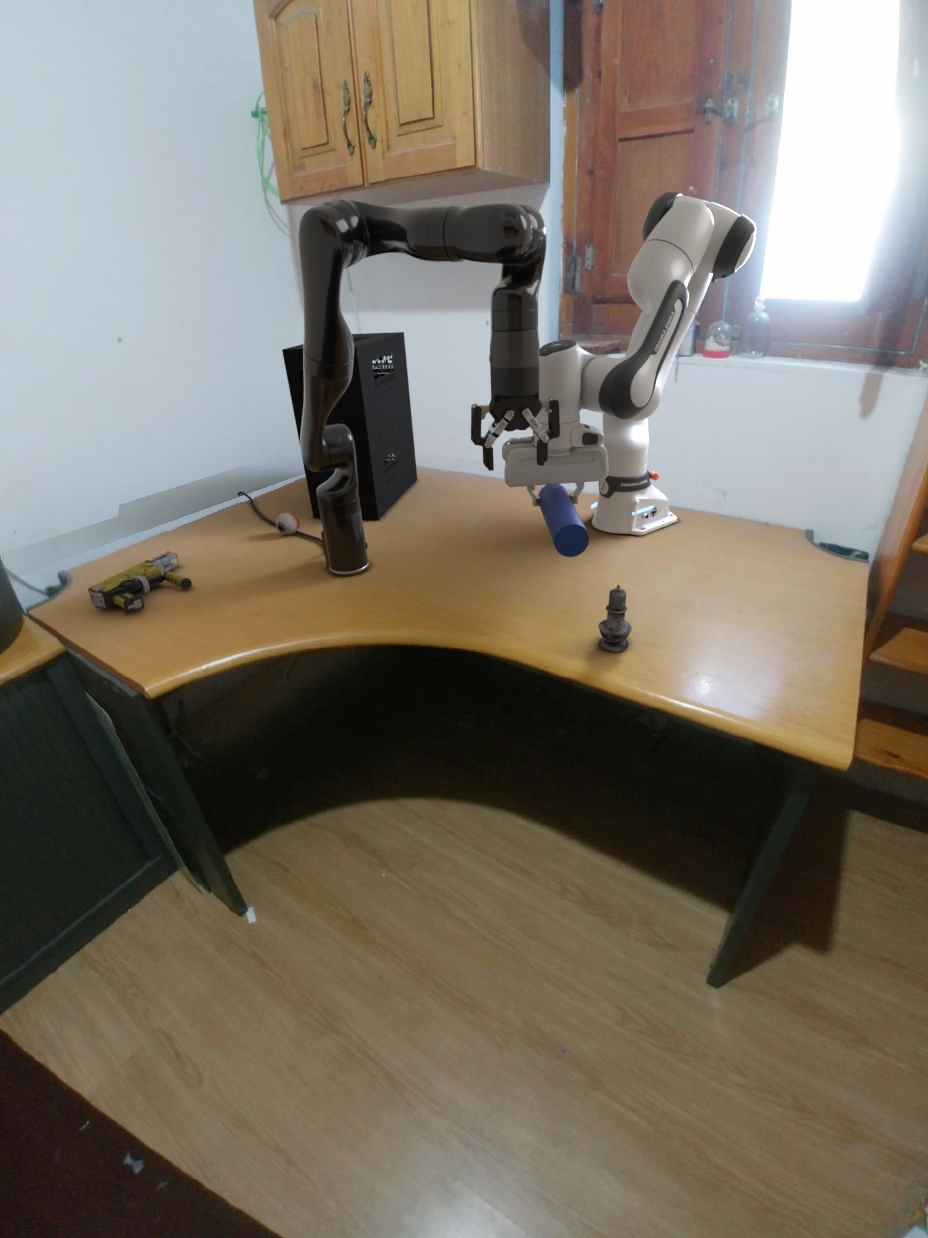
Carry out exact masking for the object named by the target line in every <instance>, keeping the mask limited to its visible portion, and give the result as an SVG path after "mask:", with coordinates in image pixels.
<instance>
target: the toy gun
mask: <svg viewBox="0 0 928 1238" xmlns="http://www.w3.org/2000/svg"><path fill="white" fill-rule="evenodd" d="M175 559H176V561H177V563H176V562H173V560H175ZM178 567H180V561H179V554H177V553H176V552H174V551H173V552H171V550H170V551H169V550H167V551H165V552H164V553H161V554H159V555H157V556H155V557H152V558H151V559H146V560H145V561H142V562H139V563H138V564H136V565H133V566H132V567H130V568H127V569H125V570H123V571H120V572H118V573H116V574H115V575H113V576H111V577H108V578H107V579H104V580H102V581H100V582H97V583H96V584H93V585H91V586H89V587H88V588H87V591H88V594H89V599H90V602H91V605H93V606H94V607H95V609H99V610H102V609H104V608H105V609H112V608H116V607H121V608H123V609H124V610H125V614H126V615H131V614H134V613H136V612H138V611H140V610H143V609H145V608H146V607H145V602H144V598H143V596H144V595H146V594H148V593H150V590H151V588H153V587H156V586H158V585H160V584H163V583H164V581H166V582H168V583H170V584H173V585H176V586H178V587H181V588H182V589H184V590H188V589H190V588H191V587H193V583H192V582H193V581H192V579H190V578H189V577H184V576H182V575H180V574H178V573H174V572H173V571H172V570H173V569H176V568H178Z"/></svg>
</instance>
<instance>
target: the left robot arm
mask: <svg viewBox="0 0 928 1238" xmlns="http://www.w3.org/2000/svg"><path fill="white" fill-rule="evenodd" d="M297 231H298V232H297V233H298V234H297V241H298V243H297V244H298V256H299V265H300V275H301V287H302V301H303V302H302V303H303V304H302V306H303V343H302V344H303V371H304V404H303V415H302V424H301V434H300V443H299V448H301V449H300V455H301V459H302V463H303V462H304V464H305V466H306V467H307V468H308V469H309V470H310V471H312V472H323V471H328V470H333V469H335V472H334V473H333V475H332V476H331V477H330V478H329V479H328V480H326V481H325V482H324V483H322V484H321V485H319V487H318V488H317V490H316V494H317V500H318V505H319V510H320V516H321V518H320V521H321V526H322V530H321V531H320V536H321V538H320V537H317V536H315V535H311V534H308V533H304V532H302V531H299V530H297V531H296V532H294V533H293V534H297V535H300V536H302V537H306V538H309V539H311V540H316V541H317V542H319V543H321V544H322V548H323V552H324V557H325V558H324V559H325V563H326V568H327V569H329V572H330V573H331V574H333V575H335V576H341V577H343V576H345V577H346V576H353V575H357V574H361V573H363V572H365V571H366V570H368V569H369V567H370V560H369V558H368V549H369V547H368V543H367V541H366V535H365V529H364V521H363V519H362V514H361V507H360V500H359V493H358V474H357V464H356V452H355V444H354V439H353V436H352V433H351V431H350V429H349V428H348V427H347V426H346V425H345V424H343V423H335V424H330V425H326V421H327V419H328V417H329V415H330V413H331V411H332V410H333V408H334V407H335V406H336V404H337V403H338V401H339V400H340V398H341V397H342V396H343V394H344V393H345V391H346V390H347V388H348V386H349V384H350V382H351V379H352V374H353V362H354V341H353V337H352V334H353V333H352V332H351V329H350V327H349V325H348V323H347V321H346V319H345V317H344V315H343V312H342V306H341V287H342V279H343V274H344V271H345V269H348V268H349V267H351V266H354V265H356V264H358V263H360V262H361V261H362V260H363V259H366V258H370V257H373V256H378V255H383V254H384V255H385V254H401V255H406V256H408V257H411V258H413V259H415V260H418V261H423V262H430V263H468V262H472V263H481V264H493V265H494V264H495V265H501V270H500V278H499V279H500V280H499V283H498V285H497V286H495V287H494V288H493V289H492V291H491V294H490V305H489V306H490V307H489V310H490V311H489V312H490V340H489V341H490V342H489V356H488V361H489V371H490V374H489V375H490V401H489V404H481V405H479V404H478V403H472V404H471V406H470V441H471V442H472V443H473V444H474V445H475V446H480V447H482V463H483V466H484V467H485V468H486V469H487V470H488V471H490V472H491V471H494V469H495V468H494V466H495V465H494V448H493V445H494V443H495V442H496V441H497V439H498V438H499V437H500V436H501V435H502V434H503V431H505V432H508V433H509V432H514V431H516V430H518V431H527V429H529V428H530V430H532V433H533V432H534V433H535V434H536V435H537V437H538V438H539V441H537V464H538V465H539V466H544V462H547V459H548V442H549V441H550V440H551V439H553V438H558V437H559V436H560V416H559V401H558V400H556V399H555V398H553V397H550V398H549V399H548V400H540V398H539V357H540V348H541V346H540V335H539V293H540V288H541V287H540V286H541V283H542V278H543V273H544V266H545V262H546V261H545V260H546V253H547V245H548V243H547V228H546V224H545V220H544V218H543V216H542V215H541V213H540V212H539V211H538V210H537V209H536V208H535V207H534V206H532V205H528V204H519V203H511V202H495V203H494V202H493V203H485V204H478V205H471V206H468V205H431V206H430V205H429V206H428V205H427V206H411V207H397V206H396V207H394V206H387V205H379V204H374V203H369V202H366V201H365V202H364V201H360V200H355V199H349V198H344V197H343V198H342V197H340V198H333V199H330V200H327V201H325V202H322V203H319V204H316V205H313V206H310V208H308V209H307V210H305V211H304V212H303V214H302V216H301V217H300V220H299V223H298V230H297ZM541 408H544V411H545V412H546V413H548V430H547V431H544V430H543V428H542V427H541V425H540V424H539V423H538V422H537V420H536V419H535V418H536V416H537V415H538V413H539V412H540V410H541ZM488 413H489V415H490V416H491V418H493V421H492V422H491V423H490V425H489V426H488V430H487V431H486V432H485V434H484V436H482V421H484V419H486V417H487V414H488ZM240 495H243V496H245V497H246V498H247V499H248V500H249V502H250V505H251V506H252V508H253V510H254V511H255V512H256V514H257V515H258V516H259V517H261V518H262V519H263V520H265V521H266V522H268V523H270V524H271V525H274V526H276V521H273V520H271V519H270V518H268V517H266V516H265V515H264V514H262V512H260V511H259V510H258V508H257V507H256V505H255V504H254V501H253V498H252V497H251V496H250V495H249V494H247V493H246V492H245V491H238V492H237V496H240Z"/></svg>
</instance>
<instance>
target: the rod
mask: <svg viewBox="0 0 928 1238" xmlns="http://www.w3.org/2000/svg"><path fill="white" fill-rule="evenodd" d="M537 496H540V506H539V508H540V510H541V514H542V517H543V519H544V522H545V525H546V528H547V530H548V533H549V535H550V538H551V540H552V541H551V542H552V543H553V546H554V549H555V550H556V552H557V553H558V554H559V555H561V556H563V557H565V558H574V557H578V556H580V555H581V554H583V553H584V552H585V551H586V550H587V548H588V547H589V544H590V534H589V531H588V530H587V527H586V525H585V524H584V522H583V520H582V518H581V516H580V513H578V510H577V508H576V506H575V504H573V503H572V501H571V499H570V497H569V493H568V492H567V490H566V487H564V485H563V484H550V485H543V487H541V489H540V490H539V492H538V494H537Z"/></svg>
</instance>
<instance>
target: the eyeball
mask: <svg viewBox="0 0 928 1238" xmlns="http://www.w3.org/2000/svg"><path fill="white" fill-rule="evenodd" d="M275 523H276V525H275V527H276V529H277V530H278V531H279V532H280V533H281V534H282V535H285V536H286V535H287V536H289V535H293V534H295V533H294V532H296V531H298V529H299V525H300V522H299V519H298V517H297V516H296V515H295V514H294V513H292V512H287V511H286V512H282V513H280V514H279V515H278V516H277V517H276V520H275Z"/></svg>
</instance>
